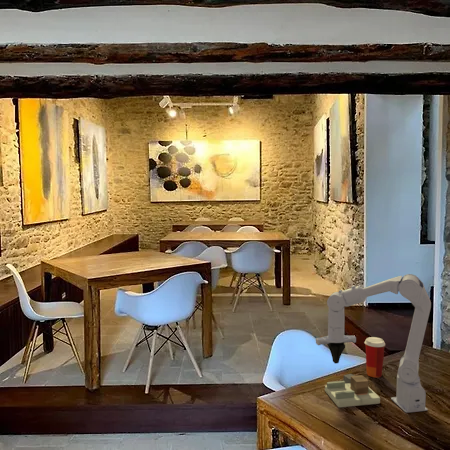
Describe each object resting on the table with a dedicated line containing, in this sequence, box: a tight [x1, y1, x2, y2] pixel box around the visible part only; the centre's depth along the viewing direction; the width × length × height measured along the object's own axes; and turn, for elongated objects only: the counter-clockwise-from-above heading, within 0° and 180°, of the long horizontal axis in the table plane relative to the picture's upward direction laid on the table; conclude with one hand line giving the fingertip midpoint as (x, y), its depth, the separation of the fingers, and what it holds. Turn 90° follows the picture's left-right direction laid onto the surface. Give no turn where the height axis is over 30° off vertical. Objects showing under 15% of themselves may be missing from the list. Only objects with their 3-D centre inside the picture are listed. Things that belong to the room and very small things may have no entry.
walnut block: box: [350, 375, 370, 394], centre depth 154 cm, size 4×4×4 cm
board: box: [324, 380, 381, 408], centre depth 154 cm, size 12×15×4 cm
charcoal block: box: [342, 373, 355, 384], centre depth 163 cm, size 4×4×4 cm
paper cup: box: [363, 336, 386, 379], centre depth 171 cm, size 8×8×14 cm
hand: (335, 362), depth 158 cm, fingers closed
